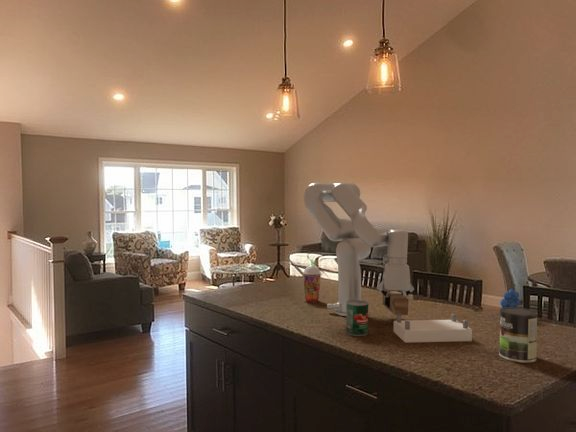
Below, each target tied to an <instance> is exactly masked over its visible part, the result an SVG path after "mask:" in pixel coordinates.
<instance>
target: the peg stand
mask: <svg viewBox="0 0 576 432" xmlns="http://www.w3.org/2000/svg"><path fill="white" fill-rule="evenodd" d="M393 332H394V333H395V335H397V336H398V337H399V338H400V339H401V340H402V341H403V342H404V343H439V342H440V343H441V342H442V343H443V342H446V343H447V342H448V343H449V342H473V329H472V328H470V327H469V321H468V320H467V319H463V320H462V322H461V321H459V320H457V313H451V319H417V320H416V319H415V320H413V319H412V320H408V319H406V320H402V315H396V320H393Z"/></svg>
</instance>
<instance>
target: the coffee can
mask: <svg viewBox="0 0 576 432" xmlns="http://www.w3.org/2000/svg"><path fill="white" fill-rule="evenodd" d="M517 307H518V306H517ZM517 307H505V308H501V307H500V308H501V309H500V308H499V309H500V310H499V314H500V315H499V353H498V355H499V356H500V358H503V359H504V360H507V361H511V362H514V363H515V362H516V363H527V364H528V363H534V362H537V348H538V347H537V346H538V345H537V343H538V338H537V337H538V336H537V335H538V315H539V314H538V312H537V311H536V310H533V309H529V308H524V307H518V308H517Z"/></svg>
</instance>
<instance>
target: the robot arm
mask: <svg viewBox="0 0 576 432" xmlns="http://www.w3.org/2000/svg"><path fill="white" fill-rule="evenodd" d="M303 192H304V193H303V203H304V206H305V208H306V211H308V213H309V214H310V216H311V217H313V219H314V220H315V221H316V223H317V224H318V226H319V227H320V229H321V230H322V231H323V233H324V234H325V236H326V237H327V238H328V239H329V240H330V241H331V242H338V243H337V246H336V248H335V254H336V259H337V274H338V275H337V278H338V279H337V280H338V282H337V284H338V285H337V289H338V290H337V292H338V293H337V294H338V295H337V297H338V299H337V301H336V302H334V303H327V304H326V309H331V310H334V314H335V315H337V316H343V317H346V302H347V301H351V300H361V301H362V272H361V271H362V269H361V265H360V261H359V260H364V259H366V258H368V257H369V256H370V253H371V250H372V248H378V247H379V248H381V247H387V256H386V257H384V258H383V262H386V263H385V264H384V268H383V272H382V273H383V274H382V281H381V282H380V283H379V284H378V285H377V286H376V289H377V290H378V291H380V292H381V294H382V296H383V295H384V296H385V305H386V307H388V308H389V307H390V298H389V294H390V291H397V292H400V294H402V295H403V296H404V297H406V298H407V297H408V296H409V295H410V293H412V292H413V291H414V290H415V288H414V286H413V285H412V283H411V271H410V265H408V264H407V263H408V249H409V248H408V247H409V246H408V245H409V233H408V231H407V230H405V229H393V228H388V227H374V225H373V224H371V222H370V221H369V220H368V218H367V216H366V212H367V209H368V205H367V204H366V203H365V202H364V201H363V199H361V190H360V188H359V186H358V185H357V184H355V183H352V182H339V183H338V182H337V183H331V182H330V183H329V182H328V183H327V182H313V183H310V184H309V185H308V186H306V188H305V189H304V191H303ZM326 203H337V205H338V206H339V207H340V208H341V209H342V210H343V212H344V213H345V214H346V215H347V216H348V217H349V219H347V218H339V217H338V216H337V214H336V213H335V212H334V211H333V209H332V208H330V206H328V205H327V204H326ZM384 290H385V291H384ZM386 307H385V308H386ZM388 308H387V309H388Z"/></svg>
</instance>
